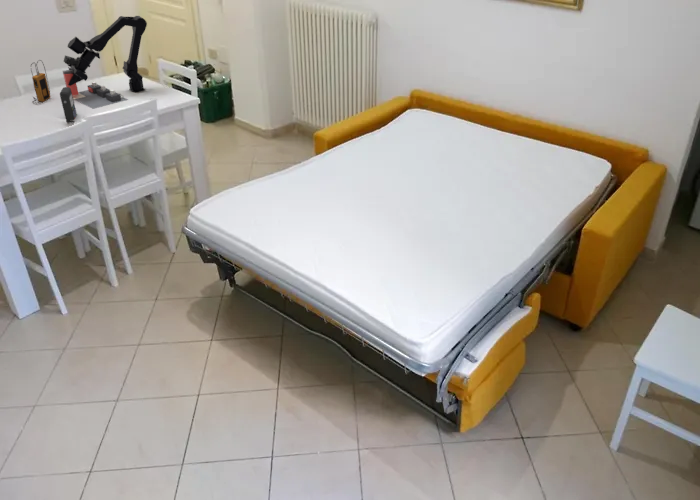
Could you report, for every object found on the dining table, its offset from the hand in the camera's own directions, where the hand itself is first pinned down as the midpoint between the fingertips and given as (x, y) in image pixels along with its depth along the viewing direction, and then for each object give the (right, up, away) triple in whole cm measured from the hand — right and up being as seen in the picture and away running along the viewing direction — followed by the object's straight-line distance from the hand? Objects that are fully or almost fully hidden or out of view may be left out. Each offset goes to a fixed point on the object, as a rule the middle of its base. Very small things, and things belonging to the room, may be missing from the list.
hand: (68, 83), depth 304 cm
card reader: (+11, -23, -18) cm, 31 cm away
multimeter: (-18, -7, +4) cm, 19 cm away
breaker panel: (+12, -8, +5) cm, 15 cm away
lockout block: (+1, -4, +4) cm, 6 cm away
